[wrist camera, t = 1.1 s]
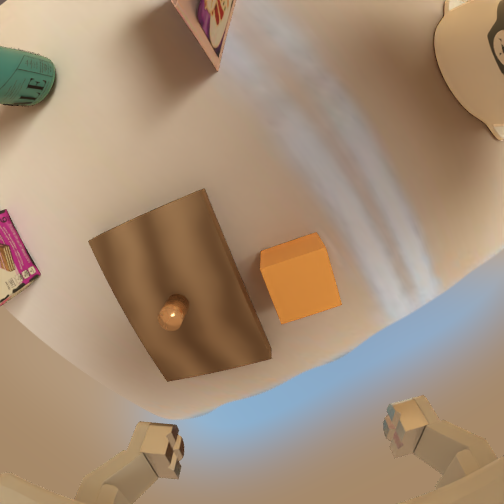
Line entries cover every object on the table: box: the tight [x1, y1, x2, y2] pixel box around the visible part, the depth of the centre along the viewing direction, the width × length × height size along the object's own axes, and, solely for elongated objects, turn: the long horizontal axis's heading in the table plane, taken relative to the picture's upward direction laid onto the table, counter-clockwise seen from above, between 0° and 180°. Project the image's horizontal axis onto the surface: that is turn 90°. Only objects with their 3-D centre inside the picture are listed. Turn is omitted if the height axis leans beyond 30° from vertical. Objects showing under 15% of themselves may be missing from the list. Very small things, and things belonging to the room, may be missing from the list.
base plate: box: [88, 189, 271, 382], centre depth 32 cm, size 14×20×2 cm
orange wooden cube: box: [260, 232, 342, 324], centre depth 29 cm, size 6×6×5 cm
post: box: [158, 294, 189, 331], centre depth 30 cm, size 2×2×4 cm
